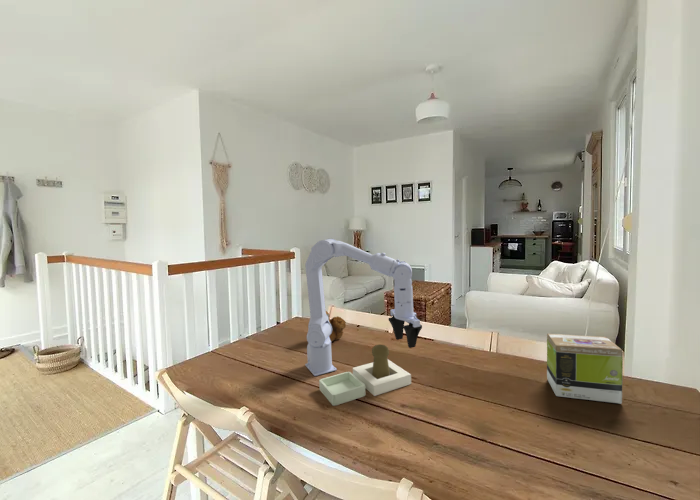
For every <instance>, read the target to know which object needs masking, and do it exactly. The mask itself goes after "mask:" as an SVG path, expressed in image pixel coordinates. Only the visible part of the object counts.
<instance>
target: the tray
mask: <svg viewBox="0 0 700 500" xmlns="http://www.w3.org/2000/svg"><path fill="white" fill-rule="evenodd" d="M318 383H319V391H320V392H321V393H322V394H323V396H324V397H325V398H326V399H327V401H328V402H329V403H330V404H331V405H332V406H334V407H335V406H339V405H340V404H341V405H342V404H344V403H348V402H351V401H354V400H356V399H360V398H363V397H365V396H366V388H365V384H363V383H362V382H361V381H360V380H359V379H358V378H357V377H355V376H354V375H353V372H351V371H345V372H341V373H338V374H334V375H331V376H327V377H323V378H320V379H319V380H318Z"/></svg>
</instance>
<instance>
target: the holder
mask: <svg viewBox="0 0 700 500" xmlns="http://www.w3.org/2000/svg"><path fill="white" fill-rule="evenodd" d="M388 365H389V371H390V376H386V377H383V378H380V379H376V378H375V377H374V376H372V371H373V362H370V363H364V364H362V365H358V366H354V367H352V374H353V375H354V376H355V377H357V378H358V379H359V380H360V381H361V382H362V383H363V384H365V390H367V391H368V392H369V393H370V394H371V395H373V396H374V397H376V396H379V395H381V394H382V395H383V394H385V393H388V392H391V391H393V390H397V389H400V388H402V387H403V388H404V387H406V386H409V385H411V384H412V373H409V371H407V370H405V369H403V368H402V367H401V366H399V365H397V364H396V363H394V362H393V361H391V360H390V359H388Z"/></svg>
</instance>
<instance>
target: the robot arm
mask: <svg viewBox="0 0 700 500" xmlns="http://www.w3.org/2000/svg"><path fill="white" fill-rule="evenodd" d="M386 254H387V253H386V252H381V253H380V252H376V253H373V254H372V253H370V252H367V251H365V250H363V249H360V248H358V247H356V246H354V245H352V244H350V243H348V242H344V241H342V240H336V239H335V238H332V237H331V238H326V239H322V240H319V241H317V242H316V243H315V244H314V245H313V246H311V248H310V252H309V255H308V257H307V259H306V261H305V274H306V284H307V285H306V286H307V293H308V294H307V295H308V304H309V315H310V317H309V320H308V326H307V327H308V330H307V334H306V341H307V346H306V353H307V354H306V357H307V362H306V363H305V364H304V366H305V367H306V368H307V369H308V370H309V372H311V373H312V375H313V376H314V377H317V376H321V375H324V374H328V373H331V372H335V371H337V370H338V369H337V367H335V366H334V365H333V358H332V355H333V354H332V342H331V340H330V338H329V336H330V335H331V333H332V326H331V324H330V322H329V319H330V317H329V318H328V316H327V314H326V311H327V308H326V302H325V301H326V300H325V292H324V291H325V290H324V278H323V270H322V269H323V267H324V266H325V265H326V263H327V262H328V261H329V260H331V259H333V258H338V257H344V256H345V257H349V258H351V259H354V260H357V261H360V262H362V263H364V264H368V265H369V267H370V269H371V270H372V271H374V272H377V273H380V274H382V275H383V276H387V277H389V278H391V277H392V278H393V280H394V281H393V282H394V286H393V293H394V294H393V297H394V298H393V299H394V309H390V316H392V317H389V318H388V321H389V323H390V325H391V327H392V330H393V333H394V337H395V340H396V341H398V340H403V339H404V332H405V335H406V343H407V346H408V348H409V349H412V348H416V346H417V341H418V338H419V334H420V332H421V331H422V328H423V325H422V324H421V320H420V319H418V317H417V313H416V312H415V311H414V296H413V295H414V292H413V291H414V290H413V288H414V287H413V285H412V284H413V279H412V277H413V268H412V267H411V264H410V263H408V262H406V261H404V260H402V261H401V260H400V259H399V258H396V259H395V258H393V257H390V256H387V255H386ZM405 322H406V323H408V324H406V325H405Z"/></svg>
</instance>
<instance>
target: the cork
mask: <svg viewBox="0 0 700 500" xmlns="http://www.w3.org/2000/svg"><path fill="white" fill-rule="evenodd" d="M371 349H372V350H371V355H372V356H373V371H372V376H374V377H375V378H376V379H380V378H383V377H386V376H390V371H389V365H388V360H389V359H388V357H389V354H390V350H389V349H390V348H389V347H388V346H387V345H385V344H375V345H374V346H373V347H372V348H371Z"/></svg>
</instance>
